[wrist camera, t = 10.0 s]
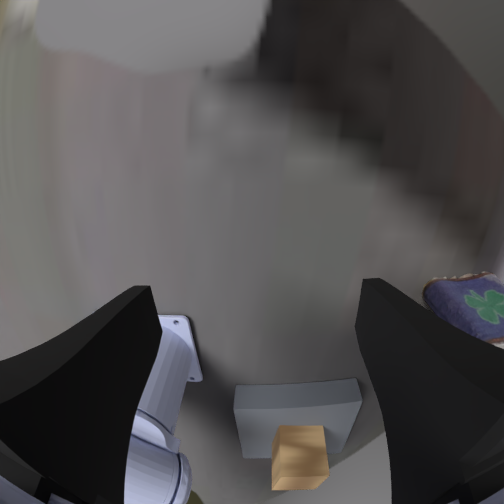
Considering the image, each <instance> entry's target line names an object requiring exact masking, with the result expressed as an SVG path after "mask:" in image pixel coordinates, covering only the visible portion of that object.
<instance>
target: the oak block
mask: <svg viewBox="0 0 504 504" xmlns="http://www.w3.org/2000/svg"><path fill="white" fill-rule="evenodd" d="M328 476H329V466H328V458H327V451H326V443H325V436H324V429H323V426H293V425H279V427H278V430H277V432H276V435H275V437H274V440H273V442H272V490H307V489H316V488H317V487H318V486H319V485H320V484H321V483H322V482H323V481H324V480H325V479H326V478H327V477H328Z"/></svg>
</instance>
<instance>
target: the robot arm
mask: <svg viewBox="0 0 504 504" xmlns="http://www.w3.org/2000/svg"><path fill="white" fill-rule="evenodd" d="M175 320H177V321H179V322H176V321H175ZM355 330H356V334H357V339H358V343H359V347H360V351H361V354H362V357H363V359H364V362H365V365H366V368H367V370H368V373H369V376H370V379H371V381H372V384H373V387H374V390H375V392H376V395H377V398H378V401H379V404H380V408H381V411H382V416H383V421H384V426H385V431H386V437H387V444H388V450H389V457H390V458H389V459H390V470H391V484H392V485H391V486H392V504H504V349H503V348H500V347H497V346H495V345H492V344H490V343H488V342H485V341H483V340H481V339H478V338H476V337H474V336H472V335H470V334H468V333H466V332H464V331H462V330H460V329H459V328H457V327H455V326H453V325H451V324H450V323H448V322H446V321H445V320H443V319H441V318H440V317H438V316H437V315H435V314H433V313H432V312H430V311H429V310H427V309H426V308H424V307H423V306H421V305H420V304H418V303H417V302H415V301H414V300H412V299H411V298H409V297H408V296H407V295H405V294H404V293H402V292H401V291H399V290H398V289H396V288H395V287H393V286H392V285H390V284H389V283H387V282H386V281H384V280H382V279H380V278H371V279H363V282H362V288H361V295H360V301H359V307H358V312H357V318H356V323H355ZM202 379H203V375H202V372H201V368H200V364H199V360H198V356H197V352H196V348H195V344H194V340H193V335H192V331H191V327H190V322H189V319H188V318H187V317H186V316H182V315H158V313H157V310H156V306H155V302H154V299H153V295H152V291H151V287H150V286H133V287H131V288H129V289H128V290H126V291H124V292H123V293H121V294H120V295H118V296H117V297H115V298H114V299H113V300H111V301H110V302H108V303H107V304H105V305H104V306H102V307H101V308H100V309H98V310H97V311H95V312H93V313H92V314H91V315H89V316H88V317H86V318H85V319H83V320H82V321H80V322H79V323H77V324H76V325H74V326H73V327H71V328H70V329H68V330H66V331H65V332H63V333H61V334H60V335H58V336H56V337H54V338H52V339H51V340H49V341H47V342H45V343H43V344H41V345H39V346H37V347H34V348H32V349H30V350H28V351H25V352H23V353H21V354H19V355H16V356H13V357H11V358H8V359H5V360H2V361H0V504H186V503H187V500H188V498H189V495H190V491H191V486H192V471H191V467H190V465H189V462H188V459H187V457H186V456H185V455H184V454H183V453H180V452H178V451H179V446H180V441H181V440H180V439H178V438H176V437H174V436H173V435H174V431H175V427H176V423H177V418H178V414H179V410H180V406H181V402H182V398H183V394H184V390H185V386H186V382H187V381H191V382H200V381H202Z"/></svg>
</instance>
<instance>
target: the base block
mask: <svg viewBox="0 0 504 504" xmlns="http://www.w3.org/2000/svg"><path fill="white" fill-rule="evenodd" d="M362 401H363V400H362V396H361V393H360V389H359V386H358V382H357V379H356V378H351V379H343V380H333V381H323V382H311V383H296V384H273V385H236V387H235V398H234V408H233V409H234V415H235V420H236V425H237V430H238V434H239V439H240V444H241V449H242V453H243V458H272V442H273V440H274V437H275V435H276V432H277V430H278V427H279V425H293V426H323V429H324V436H325V443H326V451H327V454H332V453H339V452H341V451H342V449H343V447H344V444H345V442H346V440H347V438H348V435H349V433H350V431H351V429H352V426H353V424H354V421H355V419H356V417H357V414H358V412H359V409H360V406H361V404H362Z"/></svg>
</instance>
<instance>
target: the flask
mask: <svg viewBox="0 0 504 504" xmlns="http://www.w3.org/2000/svg"><path fill="white" fill-rule="evenodd" d="M422 298H423V299H424V300H425V301H426V303H427V304H428V305H429V306H430V307H431V309H432V310H433V311H434V313H435V314H436V315H437V316H438V317H440V318H441V319H443V320H445V321H446V322H448V323H450V324H451V325H453V326H455V327H457V328H459V329H460V330H462V331H464V332H466V333H468V334H470V335H472V336H474V337H476V338H478V339H481V340H483V341H485V342H488V343H490V344H492V345H495V346H497V347H500V348H503V349H504V284H503V283H502V282H501V280H499V279H498V278H497V277H496V276H495V275H494V274H493V273H489V272H482V274H476V275H475V274H474V275H473V274H469V273H468V274H467V275H466V274H465V275H463V276H461V277H460V278H456V277H455V276H454V277H452V278H451V279H448V278H446V277H445V278H433V279H432V280H430V282H428V283H427V284H425V285H424V289H423V292H422Z"/></svg>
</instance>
